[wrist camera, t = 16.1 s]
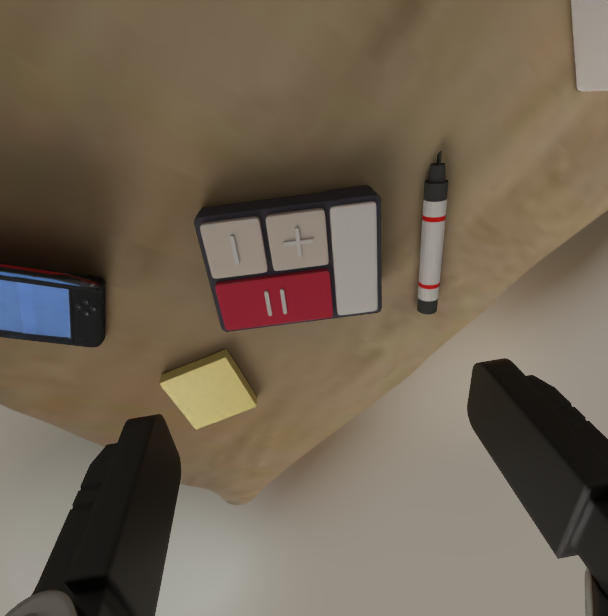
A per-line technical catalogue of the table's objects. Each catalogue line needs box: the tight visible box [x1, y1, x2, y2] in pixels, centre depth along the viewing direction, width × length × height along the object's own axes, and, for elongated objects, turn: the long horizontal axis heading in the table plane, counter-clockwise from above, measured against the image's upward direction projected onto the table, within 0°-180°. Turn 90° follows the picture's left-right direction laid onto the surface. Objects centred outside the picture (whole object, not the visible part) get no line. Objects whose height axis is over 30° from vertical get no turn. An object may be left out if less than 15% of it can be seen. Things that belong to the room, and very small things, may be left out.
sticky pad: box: [159, 349, 257, 429], centre depth 41 cm, size 8×8×2 cm
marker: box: [417, 151, 448, 314], centre depth 35 cm, size 15×2×2 cm, turn 6°
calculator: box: [194, 186, 382, 332], centre depth 34 cm, size 11×4×15 cm
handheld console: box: [0, 263, 105, 347], centre depth 31 cm, size 12×11×7 cm
